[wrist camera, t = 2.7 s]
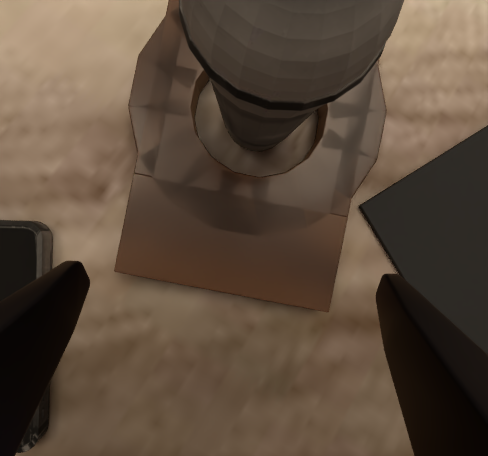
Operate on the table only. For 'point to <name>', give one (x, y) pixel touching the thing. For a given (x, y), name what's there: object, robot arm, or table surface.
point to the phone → (16, 277)
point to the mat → (442, 233)
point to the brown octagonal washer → (238, 188)
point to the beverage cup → (283, 57)
